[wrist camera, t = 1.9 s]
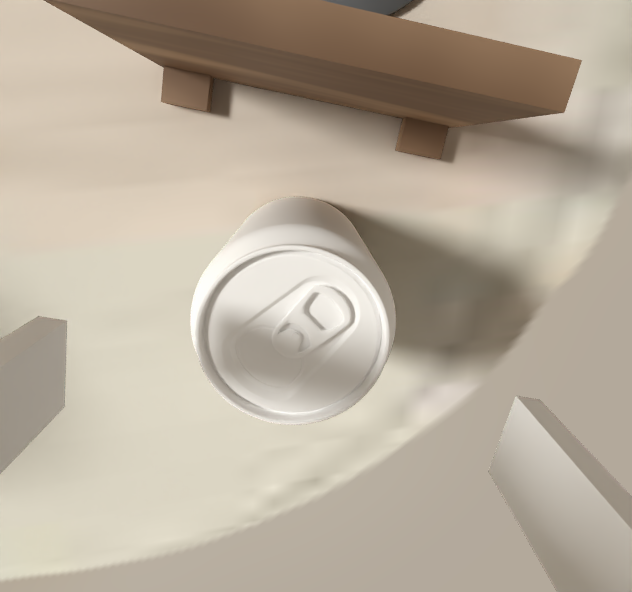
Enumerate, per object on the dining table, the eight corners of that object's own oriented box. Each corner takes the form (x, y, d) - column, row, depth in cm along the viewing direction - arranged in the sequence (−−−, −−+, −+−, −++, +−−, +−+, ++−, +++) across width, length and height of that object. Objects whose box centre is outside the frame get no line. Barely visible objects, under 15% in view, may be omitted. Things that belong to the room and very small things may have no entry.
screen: (169, -2, 23) (38, -143, 12) (465, 65, 25) (604, -6, 13) (161, 102, 25) (37, 63, 13) (440, 159, 26) (545, 169, 15)
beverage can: (204, 259, 28) (133, 338, 16) (299, 165, 26) (295, 179, 15) (296, 346, 30) (290, 471, 18) (390, 264, 28) (448, 344, 17)
